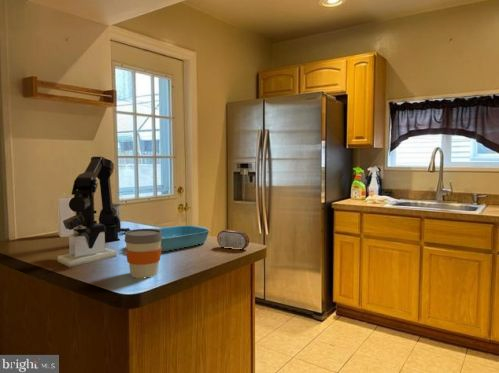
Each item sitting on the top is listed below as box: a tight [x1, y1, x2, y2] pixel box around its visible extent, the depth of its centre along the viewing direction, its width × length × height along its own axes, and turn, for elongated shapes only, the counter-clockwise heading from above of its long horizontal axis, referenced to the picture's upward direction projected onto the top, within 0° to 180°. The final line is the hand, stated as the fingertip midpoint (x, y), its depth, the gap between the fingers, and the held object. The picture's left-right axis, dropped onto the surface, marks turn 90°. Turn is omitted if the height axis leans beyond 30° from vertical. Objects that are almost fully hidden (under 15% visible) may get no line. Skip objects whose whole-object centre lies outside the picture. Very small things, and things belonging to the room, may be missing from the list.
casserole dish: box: [157, 224, 210, 253], centre depth 175 cm, size 37×22×7 cm, turn 135°
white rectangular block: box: [68, 232, 106, 258], centre depth 151 cm, size 5×12×8 cm, turn 139°
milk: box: [56, 192, 74, 238], centre depth 192 cm, size 6×6×22 cm
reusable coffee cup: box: [124, 228, 162, 279], centre depth 132 cm, size 13×13×15 cm
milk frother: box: [99, 203, 131, 233], centre depth 202 cm, size 14×16×15 cm
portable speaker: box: [217, 228, 250, 250], centre depth 169 cm, size 15×3×8 cm, turn 65°
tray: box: [57, 247, 117, 268], centre depth 151 cm, size 19×10×2 cm, turn 139°
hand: (87, 247), depth 151 cm, fingers closed on white rectangular block, 5 cm apart
